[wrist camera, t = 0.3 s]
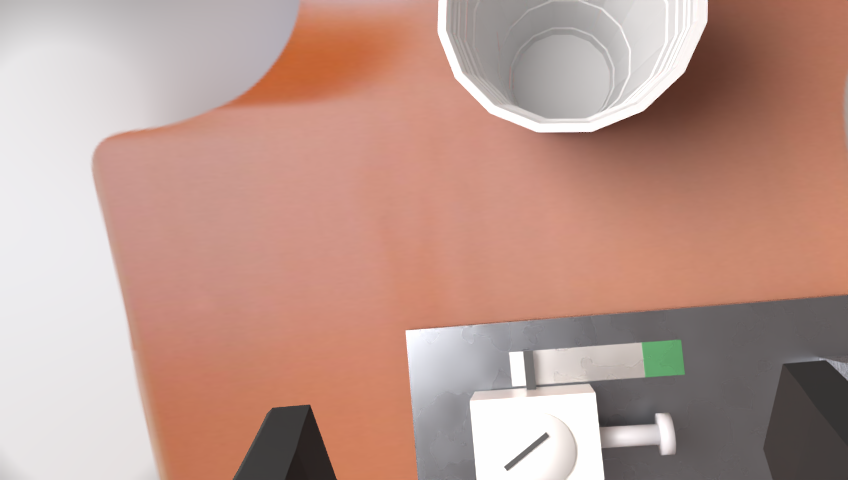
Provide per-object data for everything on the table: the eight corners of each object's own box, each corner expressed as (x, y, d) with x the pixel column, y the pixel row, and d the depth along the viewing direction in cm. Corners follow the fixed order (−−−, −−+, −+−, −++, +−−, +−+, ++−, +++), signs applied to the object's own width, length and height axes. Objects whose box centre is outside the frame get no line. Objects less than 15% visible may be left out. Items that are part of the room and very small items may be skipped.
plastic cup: (446, 10, 42) (414, -101, 30) (636, -30, 41) (681, -163, 29) (476, 194, 41) (456, 154, 29) (673, 159, 40) (735, 103, 28)
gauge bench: (875, 531, 37) (929, 568, 32) (427, 549, 40) (412, 585, 35) (844, 294, 38) (891, 294, 33) (408, 329, 41) (392, 334, 36)
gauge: (671, 477, 37) (687, 498, 34) (483, 487, 39) (478, 508, 35) (655, 339, 38) (670, 345, 34) (471, 353, 39) (465, 360, 35)
